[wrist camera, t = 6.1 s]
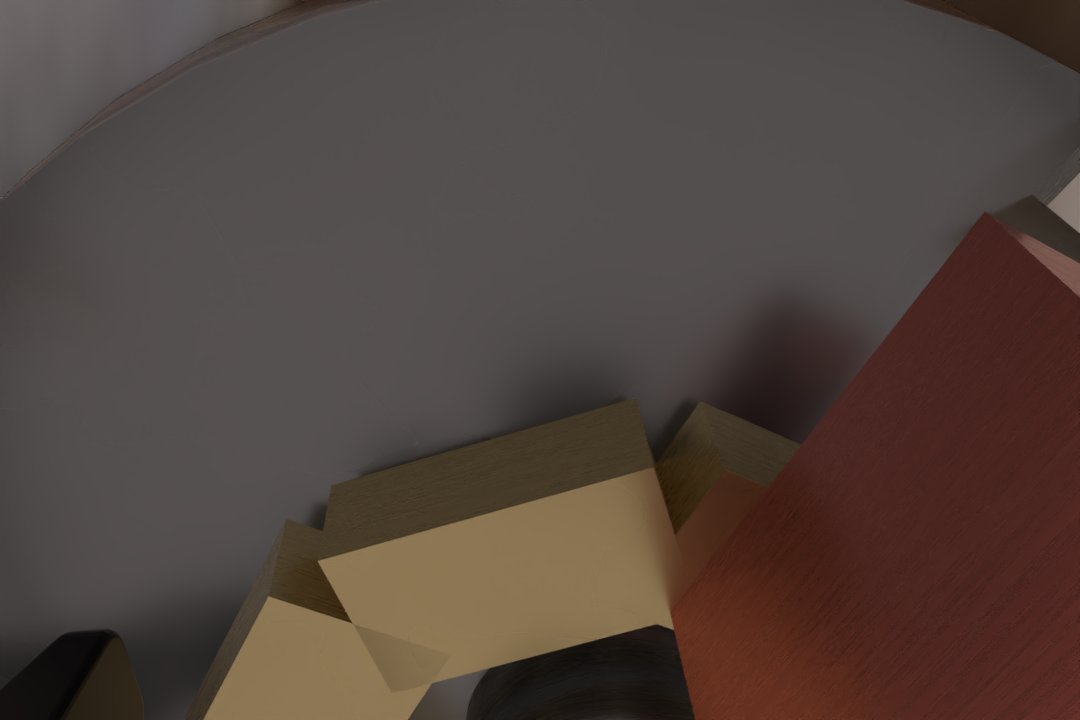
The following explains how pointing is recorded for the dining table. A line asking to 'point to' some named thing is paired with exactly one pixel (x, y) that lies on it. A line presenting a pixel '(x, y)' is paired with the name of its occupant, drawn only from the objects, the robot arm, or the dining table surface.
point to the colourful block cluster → (728, 539)
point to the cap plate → (470, 279)
